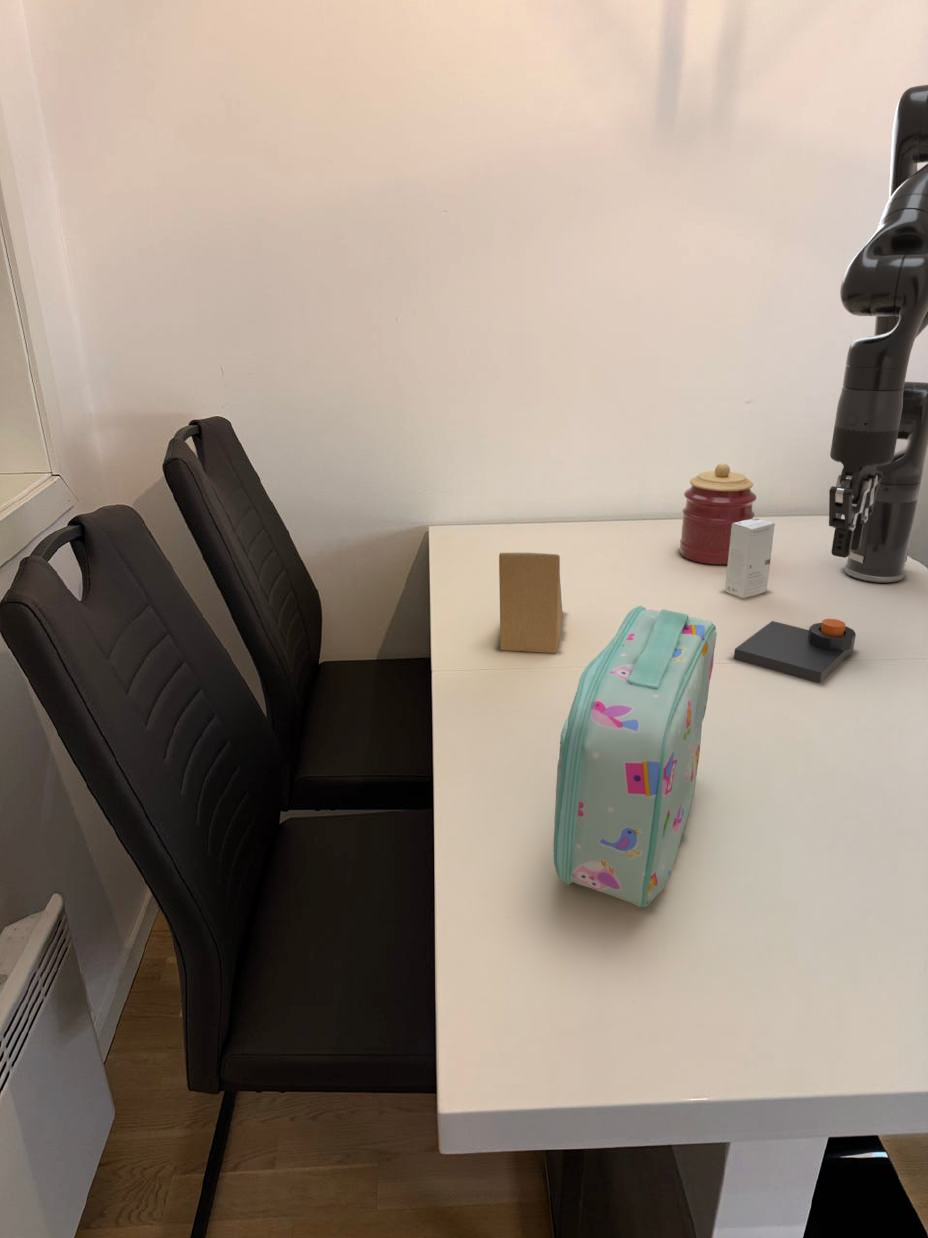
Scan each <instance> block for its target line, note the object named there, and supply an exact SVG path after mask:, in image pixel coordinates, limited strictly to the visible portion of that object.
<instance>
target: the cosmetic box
mask: <svg viewBox="0 0 928 1238" xmlns="http://www.w3.org/2000/svg"><path fill="white" fill-rule="evenodd" d="M775 525H776V524H775V523H774V522H773V521H768V520H764V519H760V518H753V519H750V520H743V521H740V522H736V523H732V528H731V537H730V547H729V556H728V564H727V568H726V576H725V584H724V592H726V593H728V594H730V595H733V596H735V597H738V598H740V599H746V598H750V597H754V596H757V595H760V594H764V593H766V592H767V591H768V583H769V574H770V566H771V557H772V549H773V541H774V533H775Z"/></svg>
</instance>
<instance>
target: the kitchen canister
mask: <svg viewBox="0 0 928 1238" xmlns="http://www.w3.org/2000/svg"><path fill="white" fill-rule="evenodd" d="M689 484H690V485H691V486H690V488H688V489H686V490H685V491H684V493H683V496H684V498H686V502H685V506H684V507H683V509H682V523H681V525H682V526H681V535H680V536H681V537H680V540H679V549H680V554H681V555H682V557H684V558H686V559H688V560H690V561H693V562H696V563H701V564H706V565H707V564H708V565H728V556H729V547H730V537H731V528H732V523H736V522H740V521H743V520H750V519H754V517H755V511H753V503H754V502H755V501H756V500H757V495H756V493H754V492H753V491H752V488H753V486H754V482H753V481H751V479H749V478H747V477H746V475H744V474H741V473H740V472H739V473H738V472H733V471H731V468H730V466H729V465H728V464H727V463H724V462H723V463H722V462H721V463H719V464H718V465H716V466H715V469H714V470H712V471H711V470H710V471H709V470H708V471H704V472H700V473H698V474H697V475H696V476H694V477H692V478H691V479H690V480H689Z"/></svg>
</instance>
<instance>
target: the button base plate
mask: <svg viewBox="0 0 928 1238" xmlns="http://www.w3.org/2000/svg"><path fill="white" fill-rule="evenodd" d="M821 626H822V622H816V623H813V624H812V625H810V626H809V627H808V629H807V628H803V627H800V626H799V627H798V626H795V625H791V624H786V623H782V622H778V621H774V620H771V621H770V622H768V624H766V625H764V626H763V627H762V628H760V629H759V630H758V631H756V632H755V633H754V634H753V635H751V636H750V637H749V638H747V639H746V640H745V641H743V642H742V643H740V644H738V646H737V647H736V648H734V654H733V660H735V661H739V662H742V663H746V664H750V665H753V666H757V667H759V668H764V669H767V670H770V671H774V672H778V673H781V674H784V675H788V676H791V677H794V678H798V679H803V680H806V681H810V682H812V683H816V684H821V683H822V682H823V681H825V679H826V678H827V677H829V675H830V674H831V673H832V672H833V671H835V669H836V668H838V667H839V666H840V665H841V664H842V663H843V662H844V661H845V660H846V659H847V658H848V657H849V656H850V655H851V654H853V652H854V648H855V641H856V636H857V633H856V632H855V630H854V629H852V628H850V627H849V626H847V625H845V630H844V635H842V636H831V635H827V634H824V633H822V632H821Z"/></svg>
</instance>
